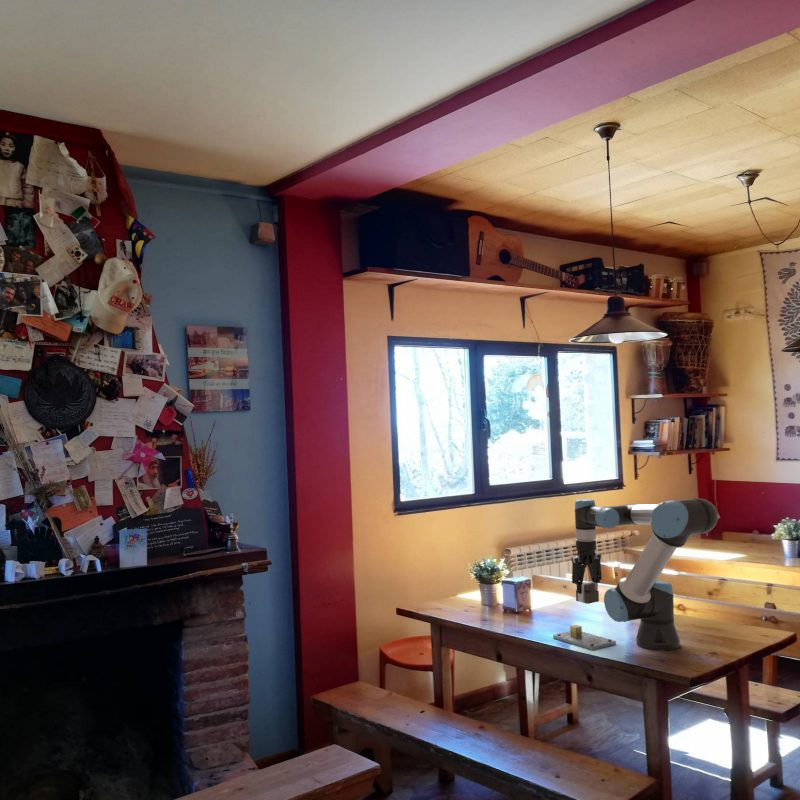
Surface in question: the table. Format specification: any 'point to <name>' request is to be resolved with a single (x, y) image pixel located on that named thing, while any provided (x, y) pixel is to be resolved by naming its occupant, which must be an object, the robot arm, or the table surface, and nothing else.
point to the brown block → (589, 593)
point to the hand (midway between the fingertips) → (587, 600)
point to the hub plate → (583, 638)
